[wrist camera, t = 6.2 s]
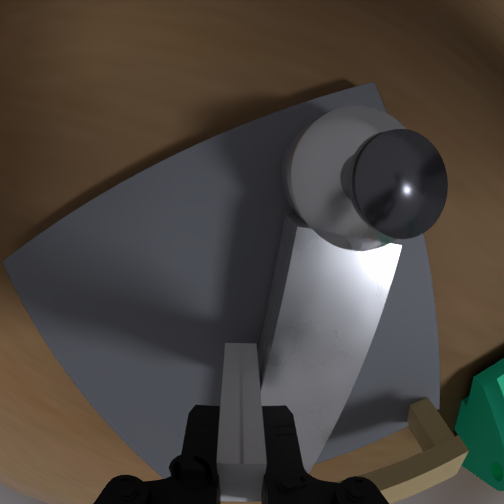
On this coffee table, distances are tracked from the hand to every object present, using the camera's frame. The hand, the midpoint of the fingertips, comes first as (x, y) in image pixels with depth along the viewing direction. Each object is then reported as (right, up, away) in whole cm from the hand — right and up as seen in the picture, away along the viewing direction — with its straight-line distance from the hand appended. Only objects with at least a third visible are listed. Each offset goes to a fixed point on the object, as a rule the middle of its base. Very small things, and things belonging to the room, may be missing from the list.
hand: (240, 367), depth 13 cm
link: (+3, +1, +1) cm, 3 cm away
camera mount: (+23, -9, +6) cm, 25 cm away
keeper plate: (0, 0, +3) cm, 3 cm away
